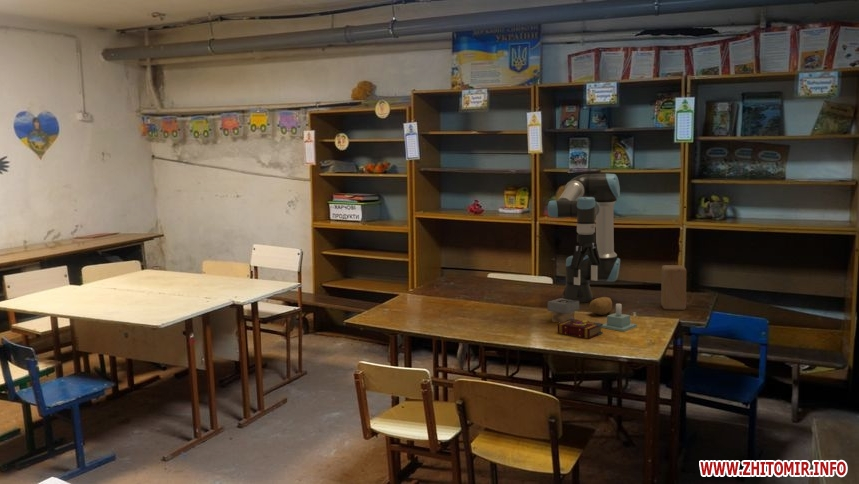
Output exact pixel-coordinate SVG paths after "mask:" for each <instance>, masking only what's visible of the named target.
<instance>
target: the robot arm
mask: <svg viewBox="0 0 859 484" xmlns="http://www.w3.org/2000/svg"><path fill="white" fill-rule="evenodd" d="M620 196H621V187H620V181H619V178H618V176H617V174H615V173H584V174H581V175H577V176H576V177H573V178H571V179H570V180H569V181H568V182H567V183H566V184H565V186H564V191H563V192H562V193H561V195H560V196H559V197H558V199H554V200H550V201H548V202H547V203H548V204H547V215H548V217H550V218H574V219H575V218H576V233H577V234H576V243H579V245H574V251H573V255H570V256H568V257H567V258H566V259H565V287H564V290H563V293H562V298H563V299H569V300H576V301H579V304H580V303H583V304H584V303H590V302H591V301H593V300H594V299H593V297H594V295H593V292H592V290H591V287H590V281H594V282H595V281H596V282H598V281H599V282H616V281H617V280H618V277H619V274H620V267H621V258H619V257H618V254H617V253H616V252H615V243H614V242H615V241H614V239H615V238H614V228H615V226H614V222H615V221H614V218H615V217H614V205H615V203H616V202H617V200H618V198H620Z"/></svg>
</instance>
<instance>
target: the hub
mask: <svg viewBox="0 0 859 484" xmlns="http://www.w3.org/2000/svg"><path fill="white" fill-rule="evenodd" d="M622 306H623V305H622V303H616V304H615V313H612V314H609V315H607V316H606V322H605V323H602V324H603V325H602V326H601V329H606V330H612V331H618V332H622V333H623V332H626V331H629V330H631V329H634V328H637V327H638V326H637V323H631V315H629V314H625V313H622V311H623V310H622V309H623V308H622Z"/></svg>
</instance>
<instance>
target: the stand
mask: <svg viewBox="0 0 859 484" xmlns="http://www.w3.org/2000/svg"><path fill="white" fill-rule="evenodd" d="M561 302H562V303H566V301H561ZM551 312H552V317H551V318H552V321H551V322H554V323H559V322H560V323H562V322H565V321H566V320H568V319H575V311H574V312H570V313H567V314H565V313H559V312H553V311H551Z"/></svg>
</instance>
